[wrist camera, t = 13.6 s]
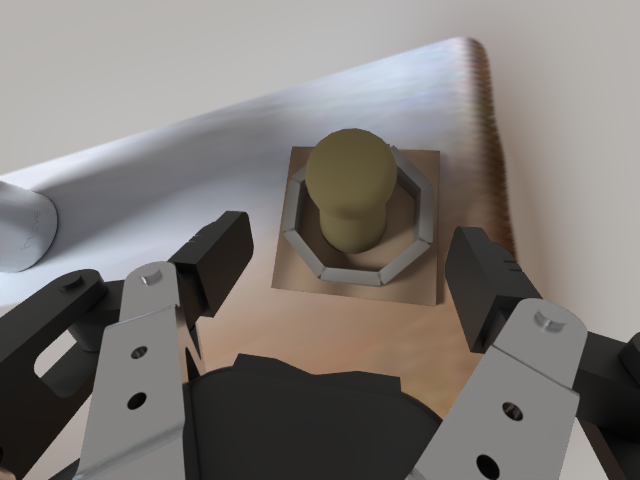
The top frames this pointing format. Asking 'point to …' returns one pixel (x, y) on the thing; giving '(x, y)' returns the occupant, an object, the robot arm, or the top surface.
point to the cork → (351, 188)
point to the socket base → (380, 261)
